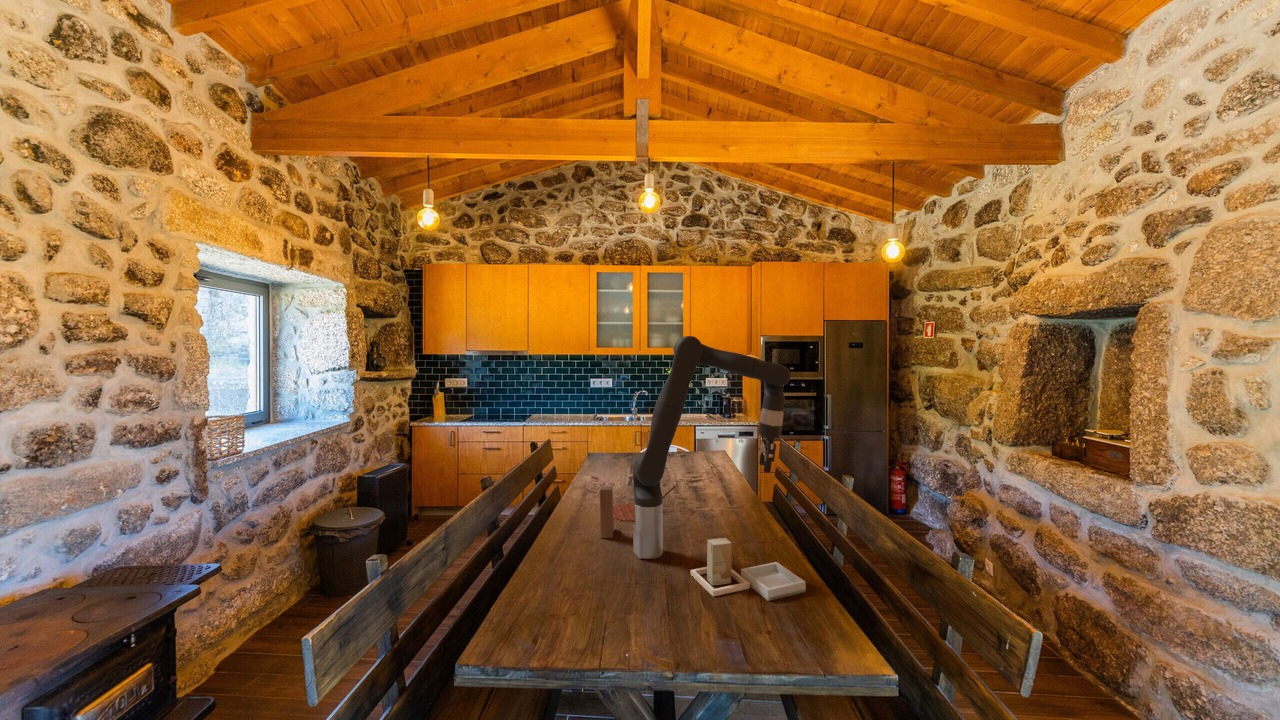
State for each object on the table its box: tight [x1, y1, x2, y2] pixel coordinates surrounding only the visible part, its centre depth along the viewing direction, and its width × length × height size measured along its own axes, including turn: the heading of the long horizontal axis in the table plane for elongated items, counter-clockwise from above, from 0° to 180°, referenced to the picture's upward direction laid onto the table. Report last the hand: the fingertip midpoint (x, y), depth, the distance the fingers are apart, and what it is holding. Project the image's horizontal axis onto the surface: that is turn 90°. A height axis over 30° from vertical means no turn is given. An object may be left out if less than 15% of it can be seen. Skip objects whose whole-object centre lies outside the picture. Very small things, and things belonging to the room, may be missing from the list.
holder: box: [690, 566, 751, 597], centre depth 149 cm, size 12×14×2 cm
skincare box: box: [706, 537, 733, 587], centre depth 148 cm, size 6×4×12 cm
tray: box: [740, 561, 807, 602], centre depth 146 cm, size 13×14×3 cm
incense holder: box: [613, 483, 678, 523], centre depth 209 cm, size 21×30×11 cm
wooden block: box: [599, 485, 615, 539], centre depth 186 cm, size 9×4×18 cm, turn 1°
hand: (764, 468), depth 171 cm, fingers open, 8 cm apart
